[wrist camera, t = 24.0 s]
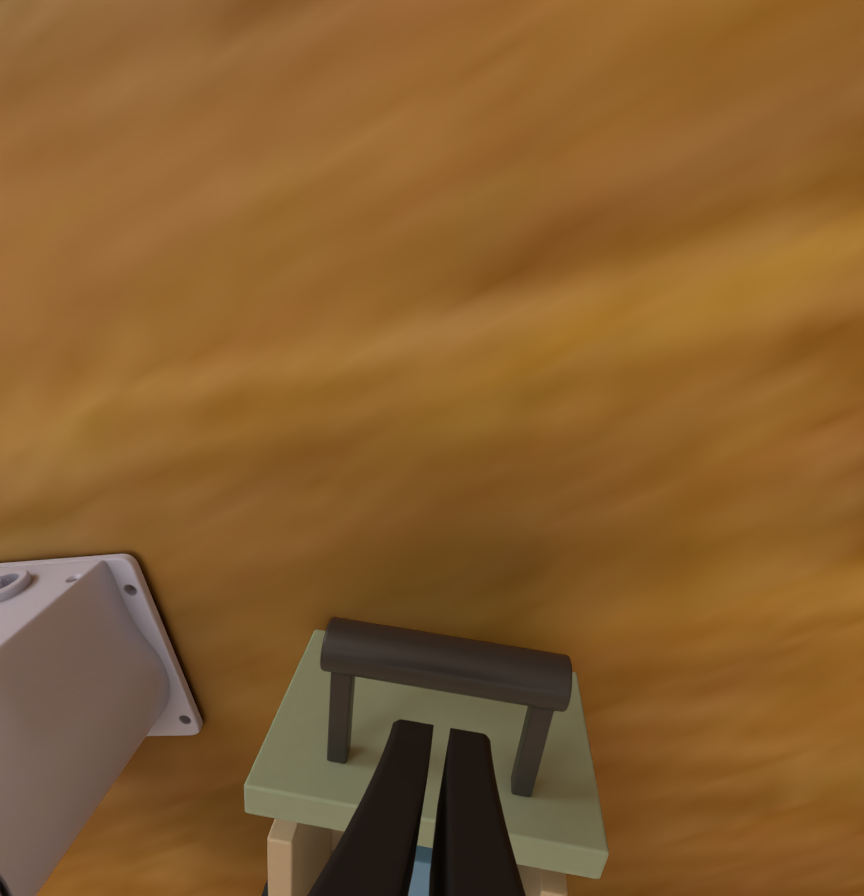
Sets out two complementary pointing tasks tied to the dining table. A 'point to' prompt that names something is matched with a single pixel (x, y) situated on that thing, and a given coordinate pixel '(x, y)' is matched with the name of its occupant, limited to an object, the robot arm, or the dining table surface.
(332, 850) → the drawer
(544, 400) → the dining table surface
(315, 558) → the dining table surface
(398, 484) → the dining table surface
